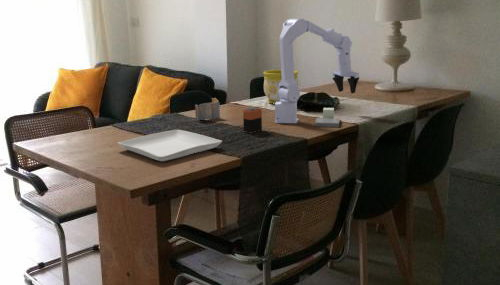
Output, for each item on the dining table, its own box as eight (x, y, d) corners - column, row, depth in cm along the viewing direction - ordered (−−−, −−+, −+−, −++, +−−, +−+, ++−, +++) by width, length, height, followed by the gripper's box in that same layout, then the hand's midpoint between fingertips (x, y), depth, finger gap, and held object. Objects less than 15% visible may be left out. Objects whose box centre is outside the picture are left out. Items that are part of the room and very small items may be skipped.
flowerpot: (259, 105, 264) (259, 73, 260) (269, 99, 280) (268, 69, 276) (293, 106, 258) (293, 74, 254) (301, 100, 275) (301, 69, 271)
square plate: (116, 151, 183) (115, 141, 182) (178, 137, 201) (177, 128, 200) (160, 166, 164) (159, 155, 163) (224, 149, 183) (223, 139, 182)
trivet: (314, 126, 214) (314, 122, 214) (316, 121, 223) (316, 117, 223) (338, 127, 212) (338, 123, 212) (339, 121, 221) (339, 118, 221)
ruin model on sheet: (216, 118, 237) (215, 97, 234) (220, 119, 234) (219, 98, 232) (195, 121, 230) (194, 100, 228) (198, 122, 228) (197, 101, 226)
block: (322, 120, 225) (323, 109, 223) (323, 118, 229) (323, 107, 228) (333, 121, 224) (333, 109, 222) (333, 119, 228) (333, 108, 227)
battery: (243, 132, 206) (242, 108, 204) (254, 129, 211) (254, 105, 209) (250, 133, 204) (250, 109, 201) (262, 130, 208) (262, 106, 206)
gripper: (362, 61, 226) (365, 91, 230) (339, 60, 237) (341, 88, 242) (351, 65, 222) (354, 95, 226) (328, 63, 234) (331, 92, 238)
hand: (347, 92), depth 234 cm, fingers open, 7 cm apart
